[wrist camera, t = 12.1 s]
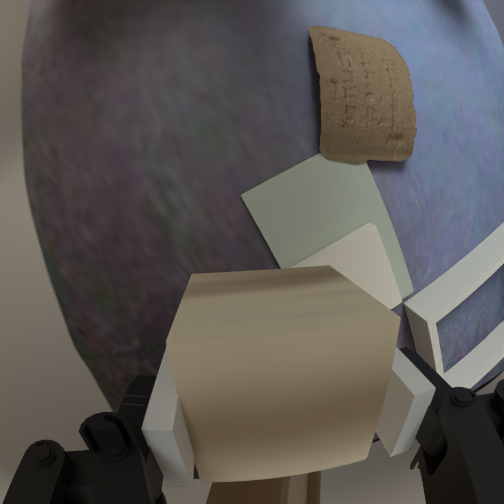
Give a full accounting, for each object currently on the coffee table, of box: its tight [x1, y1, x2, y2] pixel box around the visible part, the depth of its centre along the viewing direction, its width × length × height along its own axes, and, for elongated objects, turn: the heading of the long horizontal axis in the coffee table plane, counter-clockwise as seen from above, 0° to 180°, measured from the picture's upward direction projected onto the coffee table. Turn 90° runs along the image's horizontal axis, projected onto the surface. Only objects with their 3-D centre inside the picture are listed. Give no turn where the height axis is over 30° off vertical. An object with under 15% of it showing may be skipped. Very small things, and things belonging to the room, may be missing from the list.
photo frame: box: [206, 470, 321, 504], centre depth 20 cm, size 15×22×25 cm
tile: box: [291, 223, 403, 310], centre depth 27 cm, size 2×9×9 cm
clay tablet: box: [308, 26, 417, 164], centre depth 23 cm, size 14×10×3 cm
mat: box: [241, 152, 414, 299], centre depth 28 cm, size 18×12×1 cm, turn 29°
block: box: [166, 265, 401, 482], centre depth 10 cm, size 6×6×6 cm
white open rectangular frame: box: [403, 222, 504, 389], centre depth 30 cm, size 18×21×5 cm
